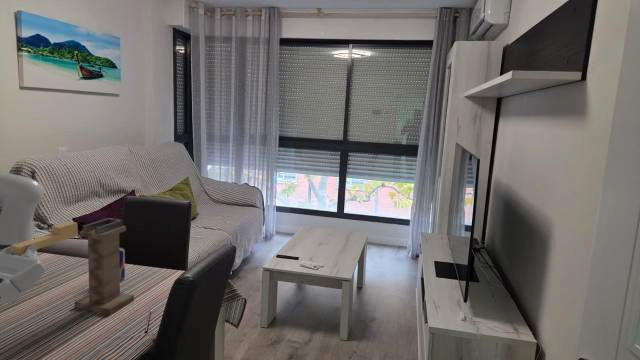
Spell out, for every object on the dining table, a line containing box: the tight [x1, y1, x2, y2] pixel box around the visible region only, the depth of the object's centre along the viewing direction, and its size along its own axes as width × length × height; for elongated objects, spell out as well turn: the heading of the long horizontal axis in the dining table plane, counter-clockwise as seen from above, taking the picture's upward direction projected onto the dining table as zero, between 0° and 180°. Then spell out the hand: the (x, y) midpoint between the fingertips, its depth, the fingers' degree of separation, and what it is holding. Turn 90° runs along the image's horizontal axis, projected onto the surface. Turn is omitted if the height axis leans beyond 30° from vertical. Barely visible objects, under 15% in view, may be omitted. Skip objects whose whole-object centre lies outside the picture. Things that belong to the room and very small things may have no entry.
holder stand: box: [74, 217, 135, 316], centre depth 136 cm, size 14×11×28 cm
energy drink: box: [119, 247, 126, 282], centre depth 156 cm, size 5×5×12 cm
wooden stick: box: [11, 221, 79, 255], centre depth 113 cm, size 3×18×4 cm, turn 166°
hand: (27, 244), depth 108 cm, fingers closed on wooden stick, 3 cm apart
